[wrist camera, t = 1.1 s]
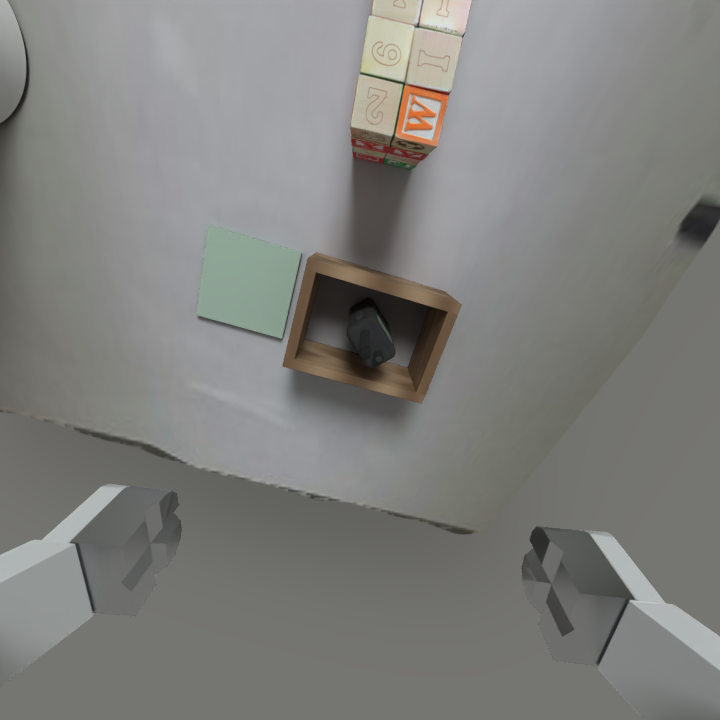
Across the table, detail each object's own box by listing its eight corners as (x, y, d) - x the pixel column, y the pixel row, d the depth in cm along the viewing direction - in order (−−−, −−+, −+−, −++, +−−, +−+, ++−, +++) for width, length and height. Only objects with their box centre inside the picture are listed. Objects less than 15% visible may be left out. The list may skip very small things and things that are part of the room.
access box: (294, 344, 42) (282, 366, 36) (316, 252, 38) (307, 258, 32) (412, 376, 44) (421, 403, 37) (444, 291, 40) (461, 304, 33)
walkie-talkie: (390, 328, 42) (406, 381, 28) (365, 342, 42) (369, 401, 28) (369, 293, 40) (375, 330, 26) (344, 308, 41) (336, 352, 27)
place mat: (198, 313, 41) (195, 314, 40) (210, 225, 37) (207, 225, 37) (282, 337, 42) (281, 338, 41) (302, 252, 38) (301, 253, 38)
